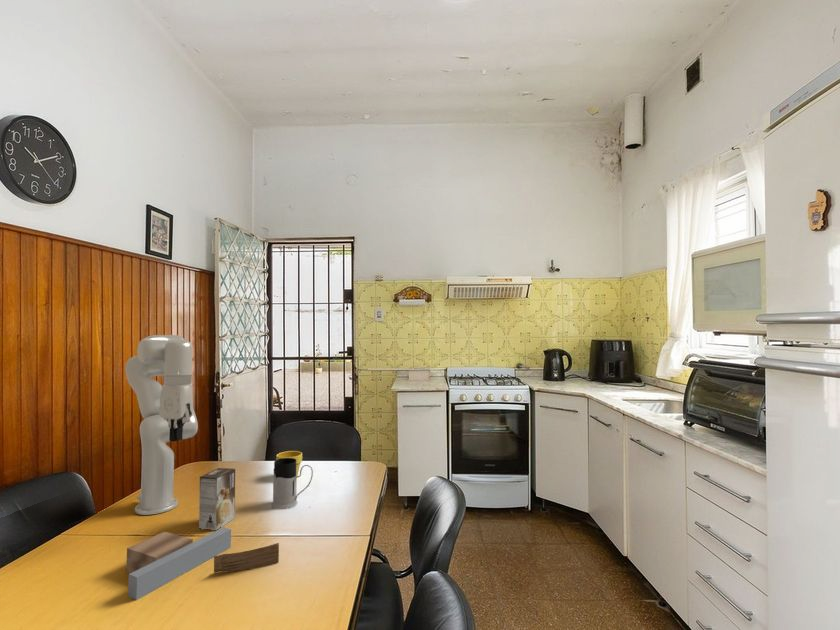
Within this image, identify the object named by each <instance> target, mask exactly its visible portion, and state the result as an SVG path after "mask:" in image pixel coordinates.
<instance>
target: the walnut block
mask: <svg viewBox="0 0 840 630" xmlns="http://www.w3.org/2000/svg"><path fill="white" fill-rule="evenodd" d="M193 542H194V541H193V539H192V538H189V537H185V536H183V535H179V534H175V533H170V532H168V531H162V532H160V533H158V534H155V535H154V536H152V537H149V538H147V539H145V540H143V541H141V542H138V543H135V544H133V545H131V546H129V547H127V548H126V568H125V569H126V570H125V571H126V573H128V574H130V573H132V572H134V571H136V570H138V569H140V568H142V567H144V566H146V565H148V564H150V563H152V562H154V561H156V560H158V559H160V558H162V557H165V556H167V555H169V554H171V553H173V552H175V551H177V550H179V549H181V548H183V547H185V546H187V545H189V544H191V543H193Z"/></svg>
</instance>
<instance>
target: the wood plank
mask: <svg viewBox="0 0 840 630" xmlns="http://www.w3.org/2000/svg"><path fill="white" fill-rule="evenodd" d="M279 553H280V543H279V542H277V543H273V544H270V545H267V546H263V547H259V548H258V547H257V548H255V549H250V550H246V551H240V552H234V553H233V552H231V553H222V554H218V555H216V556H215V557H213V573H219V572H220V573H222V572H223V573H225V572H227V573H230V572H231V571H232V572H237V571H247V570H252V569H256V568H262V567H267V566H271V565H275V564H279V563H280V562H279V561H280V560H279V559H280V558H279V557H280V554H279ZM232 572H231V573H232Z"/></svg>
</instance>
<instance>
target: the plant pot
mask: <svg viewBox="0 0 840 630" xmlns="http://www.w3.org/2000/svg"><path fill="white" fill-rule="evenodd" d="M275 458H276V459H275V461H276V460H278V459H282V458H294V459H296V474H297V476H299V473H300V468H301V463H302V462H303V452H301V451H300V450H299V451H298V450H287V451H283V452H279V453H278V454H276V457H275Z"/></svg>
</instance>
